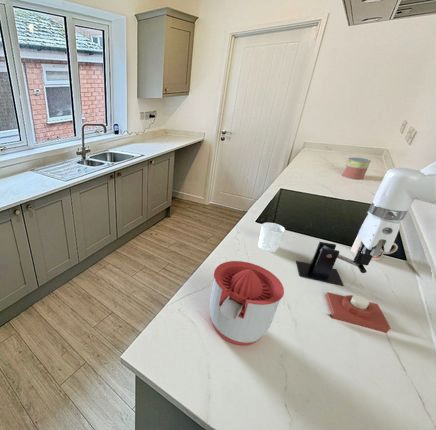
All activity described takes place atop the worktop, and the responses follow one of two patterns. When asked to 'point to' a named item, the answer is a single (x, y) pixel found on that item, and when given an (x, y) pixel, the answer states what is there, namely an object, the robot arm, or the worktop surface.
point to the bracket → (321, 265)
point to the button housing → (357, 313)
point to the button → (359, 302)
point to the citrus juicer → (243, 301)
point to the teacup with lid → (356, 248)
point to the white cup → (270, 236)
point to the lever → (348, 260)
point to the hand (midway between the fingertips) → (360, 262)
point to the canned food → (356, 168)
